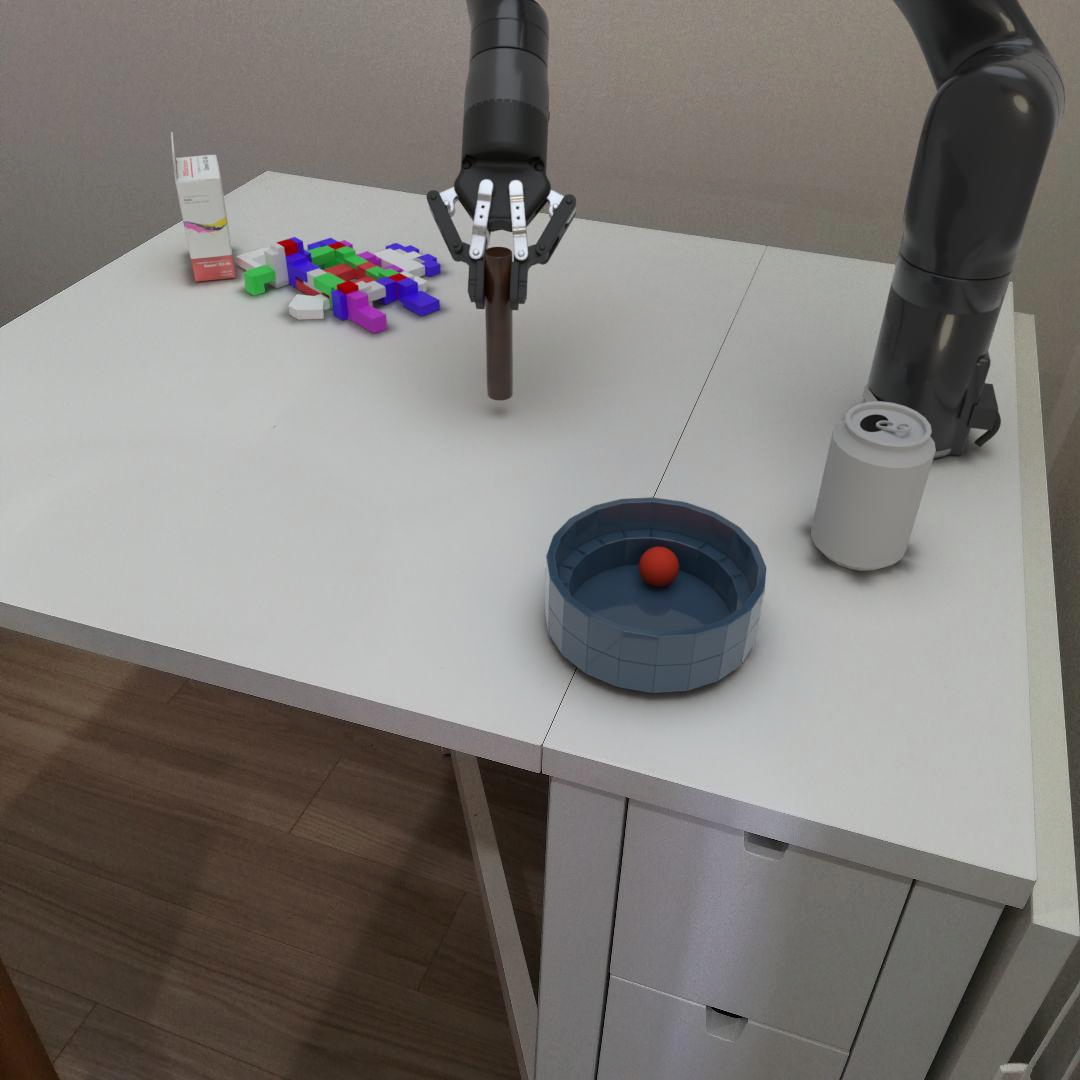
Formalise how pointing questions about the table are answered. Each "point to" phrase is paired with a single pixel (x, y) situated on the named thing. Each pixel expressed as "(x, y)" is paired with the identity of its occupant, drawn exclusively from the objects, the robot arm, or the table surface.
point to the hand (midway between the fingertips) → (497, 306)
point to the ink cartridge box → (204, 216)
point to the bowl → (653, 595)
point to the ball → (658, 566)
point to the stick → (498, 323)
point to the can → (872, 485)
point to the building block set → (343, 279)
